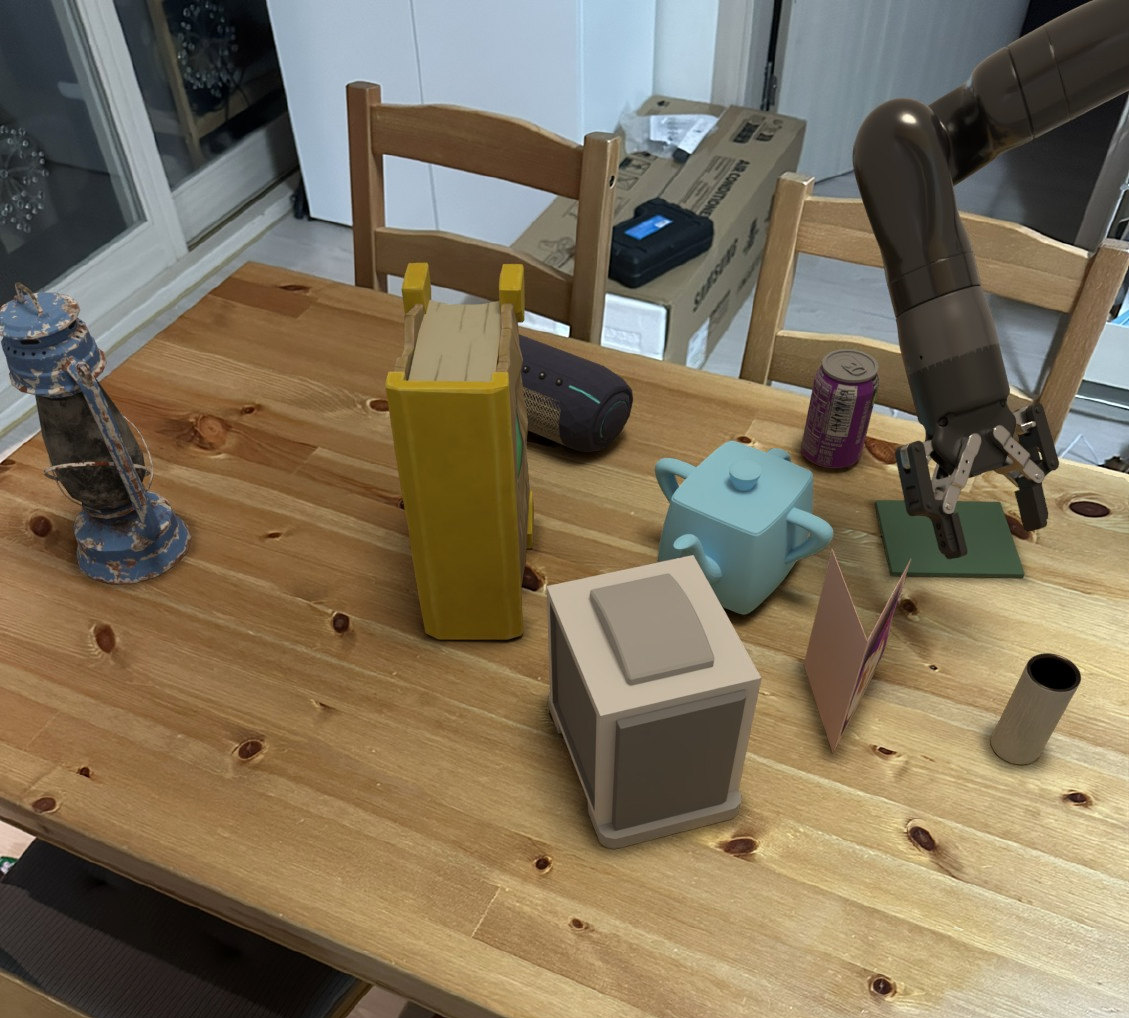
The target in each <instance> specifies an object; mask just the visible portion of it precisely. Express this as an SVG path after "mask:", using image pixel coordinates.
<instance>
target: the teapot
mask: <svg viewBox="0 0 1129 1018" xmlns="http://www.w3.org/2000/svg"><path fill="white" fill-rule="evenodd" d="M654 475H655V478H656V482H657V484H658V486H659V488H660V490H661V492H662V493H663V495H664V497H665V498H666V500H667V502H668V503H669V505H668V508H667V512H666V515H665V518H664V521H663V525H662V530H661V534H660V540H659V546H658V550H657V551H658V552H657V562H662V561H667V560H672V559H677V558H682V557H687V556H691V555H694V557H695V559H696V561H697V562H698V564H699V566H700V568H701V570H702V571H703V573H704V575H705V577H706V579H707V580H708V582H709V584H710V586H711V588H712V589H713V591H714V593H715V595H716V597H717V599H718V600H719V602H720V604H721V606H722V608H723V609H726V610H729V611H731V612H734V613H737V614H740V615H743V616H744V615H748V614H750V613H751V612H753V611H754V610H755V609H756V608H758V607H759V606H760V605H761V604H762V603H763V602H764V601H765V600H766V599H767V598H769V596H770V595H771V594H773V593H774V591H775V590H777V588H778V587H779V586H780V585H781V583H783V581H784V580H785V579H786V577H787V576H788V574H789V573H790V571H791V570H792V569H793V567H794V565H795V564H796V563H797V561H800V560H803V559H806V558H809V557H811V556H813V555H816V554H818V553H819V552H821V551H823V550H824V549H825V548H826V547H827V546H828V545H829V544H830V543H831V541H832V540H833V538H834V529H833V527H832V526H831V524H830V523H829V522H827V520H825V519H823V518H821V517H819V516H817V515H815V514H813V511H814V510H813V509H814V474H813V472H812V471H811V470H809V469H807V468H806V467H803V466H801V465H798V464H796V463H794V462H792V457H791V455H790V454H789V452H788V451H786V450H784V449H783V448H778V447H773V448H770V449H768V450H767V451H763V450H761V449H758V448H755V447H752V446H750V445H747V444H744V443H742V442H738V441H736V440H728V441H726V442H724V443H723V444H721V445H720V446H719V447H717V448H716V449H715V450H714V451H713V452H712V453H710V454H709V455H708V456H706V458H704V460H703V461H702V462H701V463H699V464H698V465H697V466H695V465H692V464H690V463H688V462H685V461H683V460H680V459H678V458H673V457H662V458H660V459H659V460H658V461H657V462H656V463H655V465H654ZM676 476H677V477H679V478H682V479H684V481H682V483H681V484H680V485H679V483H678V480H677V477H676Z"/></svg>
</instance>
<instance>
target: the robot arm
mask: <svg viewBox="0 0 1129 1018" xmlns="http://www.w3.org/2000/svg"><path fill="white" fill-rule="evenodd" d="M1126 92H1129V0H1090V1H1088V2H1086V3H1084V4H1081V5H1079V6H1077V7H1075V8H1073V9H1071V10H1069V11H1067V12H1065V13H1062V15H1059V16H1057V17H1055V18H1053V19H1051V20H1049V21H1048V22H1046V23H1044V24H1043V25H1040V26H1039V27H1037V28H1035V29H1034V30H1032V31H1030V32H1028V33H1027V34H1024V35H1023V36H1021V37H1019V38H1017V39H1016V40H1014V41H1012V42H1010V43H1008V44H1007V46H1003V47H1001V48H1000V49H998V50H996V51H995V52H993V53H992V54H990V55H988V56H987V57H986V58H984V59H983V60H982V61H981V62H979V63H978V64H977V65H976V66H975V67H974V69H972V72H971V73H970V75H969V77H968V78H967V79H966V81H964V82H963V83H962V84H960V85H959V86H957V87H955V88H954V89H952V90H951V91H949V92H947V93H946V94H944V95H942V96H941V97H939V98H938V99H936V100H934V101H932V102H931V103H929V104H925V103H924V102H922V101H920V100H917V99H914V98H910V97H897V98H892V99H889V100H886V101H884V102H882V103H881V104H879V105H877V106H876V107H875V108H873V109H872V110H871V111H870V112H869V113H868V114H867V115H866V117H865V118H864V119H863V121H862V122H861V123H860V125H859V127H858V130H857V132H856V135H855V137H854V141H853V145H852V154H851V155H852V158H851V159H852V167H853V173H854V177H855V182H856V185H857V189H858V192H859V196H860V199H861V201H862V204H863V208H864V211H865V213H866V216H867V219H868V222H869V224H870V227H871V230H872V233H873V236H874V238H875V241H876V243H877V245H878V249H879V251H880V256H881V260H882V265H883V272H884V277H885V281H886V282H885V283H886V287H887V290H888V293H889V297H890V302H891V306H892V309H893V314H894V317H895V323H896V329H897V338H898V346H899V351H900V355H901V359H902V362H903V366H904V370H905V374H906V379H907V383H908V386H909V391H910V394H911V398H912V403H913V405H914V410H915V414H916V418H917V421H918V423H919V424H920V425H921V426H922V427H923V428H924V431H925V437H924V441H921V440H914V441H912V442H909V443H907V444H903V445H901V446H898V447H897V448H896V449H895V451H894V457H895V461H896V467H897V471H898V476H899V480H900V486H901V492H902V496H903V500H904V501H905V506H906V511H907V513H908V515H909V516H926V517H928V518H930V520H931V521H932V524H933V528H934V532H935V536H936V540H937V544H938V548H939V550H940V552H941V553H942V554H944V555H945V557H946V558H947V559H954V558H959V557H962V556H965V555H967V552H968V550H967V546H966V542H965V538H964V534H963V530H962V526H961V522H960V518H959V514H958V512H957V513H953V512H954V510H955V507H956V504H957V501H959V497H960V495H961V491H962V490H963V489H964V488H965V487H966V486H967V483H968V480H969V479H971V478H974V477H977V476H981V475H983V474H986V473H988V472H992V471H993V472H994V473H996V474H998V475H1001V476H1003V477H1005V478H1006V479H1007V480H1008V481H1009V482H1010V483H1011V484H1012V485H1013V486H1015V487H1016V488H1018V489H1017V490H1014V495H1015V499H1016V504H1017V508H1018V511H1019V515H1020V520H1021V525H1022V528H1023V530H1024V531H1025V532H1033V531H1038V530H1042V529H1044V528H1046V527H1047V526H1048V520H1049V510H1048V509H1049V508H1048V505H1047V502H1046V497H1045V491H1044V488H1043V482H1044V480H1045V477H1047V476H1048V475H1049V474H1050V473H1052V472H1053V471H1056V470H1058V469H1059V467H1060V461H1059V457H1058V453H1057V449H1056V446H1055V442H1054V439H1053V436H1052V432H1051V429H1050V425H1049V422H1048V418H1047V415H1046V412H1045V408H1044V405H1043V404H1042V403H1040V402H1035V403H1032V404H1028V405H1025V406H1022V407H1020V408H1018V409H1017V408H1016V409H1015V410H1014V411H1013V412H1012V410H1011V409H1010V407H1009V405H1008V397H1009V396H1010V393H1011V388H1010V383H1009V379H1008V375H1007V371H1006V366H1005V362H1004V358H1003V355H1002V350H1001V346H1000V342H999V337H998V333H997V330H996V325H995V321H994V316H993V312H992V310H991V308H990V305H989V302H988V300H987V298H986V295H985V292H984V288H983V285H982V281H981V277H980V273H979V268H978V263H977V261H976V256H975V252H974V249H973V246H972V245H973V244H972V242H971V239H970V236H969V233H968V231H967V229H966V227H965V224H964V222H963V220H962V218H961V215H960V212H959V207H958V203H957V197H956V193H955V188H954V187H956V186H957V185H958V184H960V183H962V182H963V181H965V180H966V179H968V178H969V177H971V176H972V175H975V173H976V172H978V171H980V170H982V169H984V168H985V167H986V166H988V165H989V164H990V163H992V162H993V161H995V160H996V159H997V158H999V157H1000V156H1003V154H1005V153H1007V152H1009V151H1011V150H1013V149H1015V148H1017V147H1020V146H1022V145H1025V144H1027V143H1029V142H1031V141H1033V139H1038V138H1040V137H1042V136H1043V135H1045V134H1047V133H1049V132H1051V131H1053V130H1055V129H1057V128H1058V127H1061V126H1063V125H1065V124H1066V123H1068V122H1070V121H1072V120H1074V119H1076V118H1078V117H1080V116H1082V115H1084V114H1086V113H1088V112H1089V111H1092V110H1093V109H1095V108H1097V107H1099V106H1101V105H1103V104H1104V103H1107V102H1109V101H1110V100H1111V101H1112V100H1113V99H1114V98H1117V97H1118V96H1120V95H1122V94H1124V93H1126ZM1015 433H1016V434H1017V437H1018V441H1019V442H1018V441H1017V440H1016V439H1015V438H1014V435H1015ZM931 460H933V462H934V463H936V465H935V468H934V471H933V474H932V477H931V472H930V467H929V464H930V462H931Z"/></svg>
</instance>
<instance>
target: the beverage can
mask: <svg viewBox="0 0 1129 1018" xmlns="http://www.w3.org/2000/svg"><path fill="white" fill-rule="evenodd" d="M878 371H879V363H878V361H877V359H875V357H873V356H872V355H871V354H869V353H867V352H865V351H862V350H858V349H853V348H840V349H835V350H832V351H829V352H827V353H826V354H825V355H824V356H823V357H822V360H821V365H819V367H818V369H816V371H815V374H814V379H813V384H812V389H811V394H810V399H809V405H808V408H807V409H808V410H807V414H806V420H805V424H804V430H803V434H802V440H801V443H800V445H801V446H800V450H801V453H802V454H803V456H804V457H805V459H807V460H808V461H809V462H811V463H813V464H815V465H817V466H820V467H823V468H829V469H842V468H847V467H850V466H852V465H854V464H856V463H857V462H858V461H859V460H860V459H861V457H862V455H863V450H864V446H865V441H866V438H867V433H868V430H869V426H870V422H871V418H872V413H873V410H874V405H875V402H876V398H877V394H878V390H879V387H880V386H879V385H880V378H879V374H878V373H879V372H878Z"/></svg>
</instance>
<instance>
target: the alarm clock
mask: <svg viewBox="0 0 1129 1018" xmlns="http://www.w3.org/2000/svg"><path fill="white" fill-rule="evenodd" d="M546 611H547V613H546V615H547V617H546V618H547V643H548V645H547V648H548V676H549V677H548V678H549V692H548V696H547V697H548V698H547V700H548V701H547V704H548V707H547V708H548V709H549V713H550V715H551V717H552V720H553V723H554V725H555V728H556V730H557V734H562V737H563V739H564V742H565V745H566V747H567V750H568V752H569V755H570V757H571V760H572V763H573V765H574V768H575V771H576V773H577V776H578V778H579V779H578V780H579V781H580V784H581V786H582V789H583V792H584V794H585V797H586V800H587V812H588V815H589V818H590V820H591V823H592V826H593V829H594V831H595V834H596V837H597V839H598V842H599V844H600V845H602V846H603V847H605V848H608V849H613V850H616V849H621V848H625V847H629V846H632V845H636V844H640V843H644V842H648V841H651V840H656V839H659V838H663V837H667V836H671V835H675V834H679V833H682V832H688V831H690V830H694V829H699V828H702V827H706V826H709V825H714V824H717V823H721V822H725V821H730V820H734V818H735V817H736V816H737V815H738V814H739V812H740V807H741V803H742V799H743V798H742V797H743V795H742V794H741V792H740V786H741V782H742V776H743V771H744V767H745V761H746V757H747V753H748V752H747V751H748V746H749V742H750V737H751V732H752V728H753V727H752V726H753V722H754V717H755V712H756V707H757V702H758V697H759V692H760V688H761V682H762V676H761V674H760V672H759V671H758V669H757V667H756V665H755V663H754V661H753V660H752V658H751V656H750V653H748V651H747V649H746V647H745V645H744V643H743V642H742V640H741V638H740V636H739V635H738V633H737V631H736V629H735V627H734V625H733V624H732V622H731V621H730V618H729V616H728V614H727V613H726V611H725V608H724V607H722V606H721V604H720V602H719V600H718V599H717V597H716V595H715V593H714V591H713V589H712V588H711V586H710V584H709V582H708V580H707V579H706V577H705V575H704V573H703V571H702V570H701V568H700V566H699V564H698V562H697V561H696V559H695V557H694V555H691V556H687V557H682V558H677V559H672V560H667V561H662V562H658V561H657V562H653V563H649V564H644V565H640V566H639V565H638V566H634V567H630V568H629V567H628V568H625V569H620V570H616V571H611V572H606V573H600V574H597V575H592V576H587V577H583V578H582V577H581V578H578V579H574V580H568V581H564V582H559V583H555V584H550V585H546Z"/></svg>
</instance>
